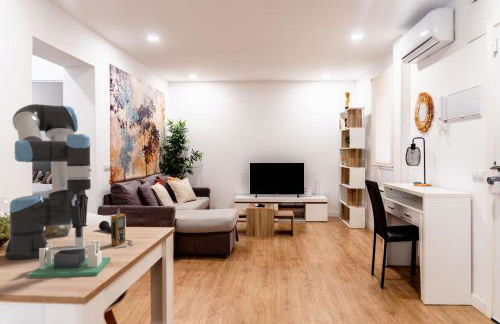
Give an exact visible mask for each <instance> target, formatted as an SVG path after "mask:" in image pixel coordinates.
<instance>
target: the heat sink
mask: <svg viewBox="0 0 500 324" xmlns="http://www.w3.org/2000/svg"><path fill="white" fill-rule="evenodd" d="M85 258H86V249H72V250H59V251H56V253H54V254H53V259H54V266H53V269H69V268H79V267H80V266H81V265H82V264H83V263H84V262H85Z"/></svg>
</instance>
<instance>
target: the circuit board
mask: <svg viewBox="0 0 500 324" xmlns="http://www.w3.org/2000/svg"><path fill="white" fill-rule="evenodd" d="M100 241H101V240H98V239H97V240H96V239H95V240H92V241H91V243H88V244H87V245H88V248H87V257H85V262H84V263H83V264H82V265H81V266H80V267H79V268H69V269H53V266H54V258H53V251H47V252H46V255H45V248H40V249H39V257H38V258H39V259H38V260H39V261H38V263H39V264H38V266H39V267H37V268H36V269H35V270H34V271H32V272H31V273H29V278H30V279H34V278H35V279H36V278H37V279H39V278H60V277H61V278H64V277H66V278H67V277H92V276H93V277H94V276H95V277H96V276H98V275H100V273H101V271H103V269H104V268H105V267H106V266H107V265H108V264H109V263H110V261H111V257H110V256H108V257H105V256H104V257H103V250H100V247H101V246H100V245H101V244H100V243H101V242H100ZM46 246H50V247H53V244H52V243H50V244H49V243H48V244H47V245H46Z"/></svg>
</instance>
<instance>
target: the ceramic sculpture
mask: <svg viewBox="0 0 500 324" xmlns="http://www.w3.org/2000/svg"><path fill="white" fill-rule="evenodd" d="M71 228H72V224H70V225H59V226H47V227H44V235H45V238H56V237H59V236H68V235H69V234H70V231H71Z"/></svg>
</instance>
